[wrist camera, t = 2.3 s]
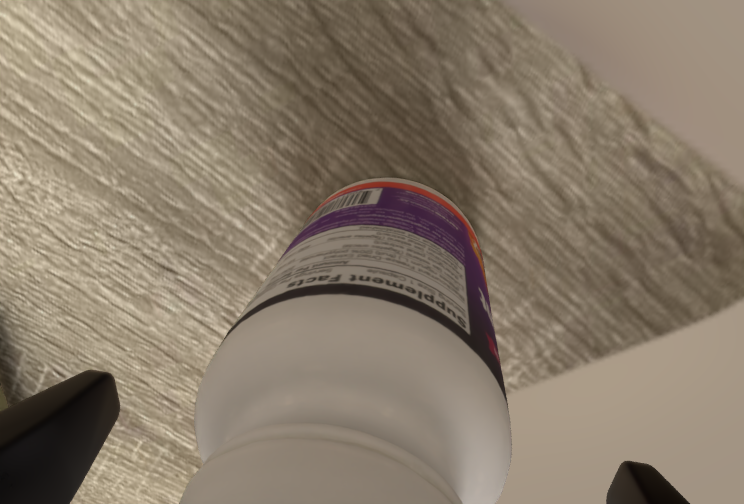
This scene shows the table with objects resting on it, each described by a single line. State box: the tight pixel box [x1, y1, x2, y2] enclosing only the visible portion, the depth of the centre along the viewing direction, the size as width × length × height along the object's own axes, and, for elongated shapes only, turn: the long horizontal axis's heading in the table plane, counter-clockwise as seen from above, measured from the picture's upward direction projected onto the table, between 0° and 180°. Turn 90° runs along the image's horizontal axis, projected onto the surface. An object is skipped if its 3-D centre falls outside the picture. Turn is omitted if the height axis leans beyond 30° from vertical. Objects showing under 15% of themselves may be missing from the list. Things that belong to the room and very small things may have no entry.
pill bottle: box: [179, 178, 512, 504], centre depth 10 cm, size 5×5×10 cm
